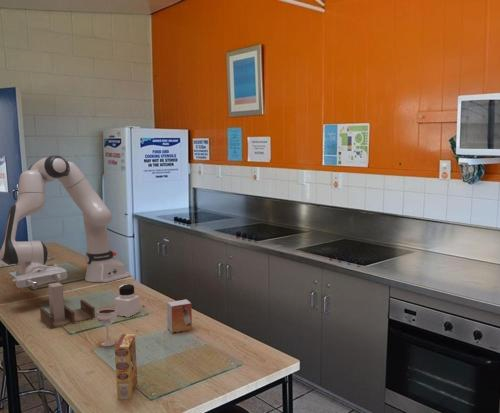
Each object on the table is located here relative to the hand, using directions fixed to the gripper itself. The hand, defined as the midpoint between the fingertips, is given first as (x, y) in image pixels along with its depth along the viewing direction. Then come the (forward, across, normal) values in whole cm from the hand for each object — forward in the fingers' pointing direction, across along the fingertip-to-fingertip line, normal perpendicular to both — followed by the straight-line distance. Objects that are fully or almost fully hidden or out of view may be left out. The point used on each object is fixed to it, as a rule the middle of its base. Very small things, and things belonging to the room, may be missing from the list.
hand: (47, 281), depth 197 cm
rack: (+14, +3, +13) cm, 19 cm away
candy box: (+81, -4, +13) cm, 82 cm away
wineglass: (+46, +6, +13) cm, 48 cm away
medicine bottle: (+23, +24, +14) cm, 36 cm away
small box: (+51, +32, +14) cm, 62 cm away
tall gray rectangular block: (+14, -1, +12) cm, 18 cm away
